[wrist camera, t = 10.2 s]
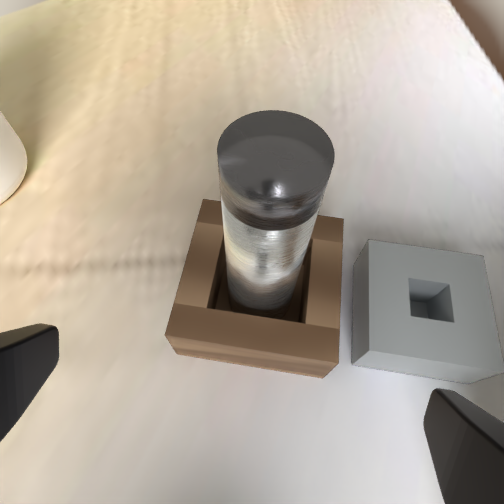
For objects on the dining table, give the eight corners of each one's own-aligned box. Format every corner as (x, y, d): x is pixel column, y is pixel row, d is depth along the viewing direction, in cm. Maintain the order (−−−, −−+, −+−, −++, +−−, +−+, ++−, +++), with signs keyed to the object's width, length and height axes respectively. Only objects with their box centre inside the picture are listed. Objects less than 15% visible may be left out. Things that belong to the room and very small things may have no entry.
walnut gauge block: (322, 378, 22) (338, 363, 18) (176, 354, 22) (164, 334, 19) (329, 250, 26) (343, 218, 23) (208, 232, 26) (203, 199, 23)
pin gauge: (302, 299, 24) (358, 155, 12) (257, 339, 22) (272, 217, 11) (261, 259, 25) (278, 96, 14) (216, 293, 24) (193, 144, 12)
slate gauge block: (468, 384, 22) (505, 372, 19) (351, 365, 22) (369, 350, 19) (454, 280, 25) (483, 255, 22) (353, 265, 25) (368, 239, 22)
